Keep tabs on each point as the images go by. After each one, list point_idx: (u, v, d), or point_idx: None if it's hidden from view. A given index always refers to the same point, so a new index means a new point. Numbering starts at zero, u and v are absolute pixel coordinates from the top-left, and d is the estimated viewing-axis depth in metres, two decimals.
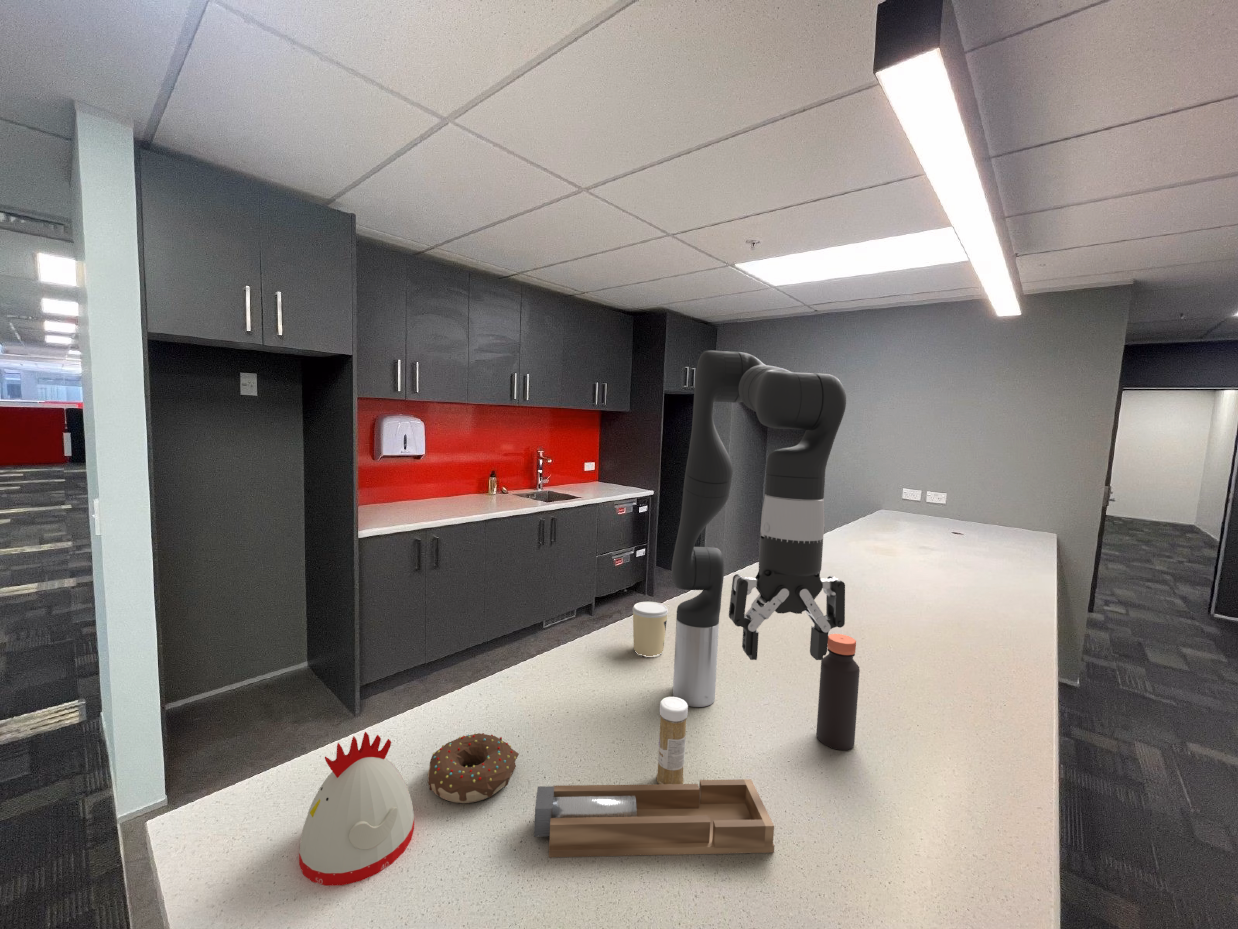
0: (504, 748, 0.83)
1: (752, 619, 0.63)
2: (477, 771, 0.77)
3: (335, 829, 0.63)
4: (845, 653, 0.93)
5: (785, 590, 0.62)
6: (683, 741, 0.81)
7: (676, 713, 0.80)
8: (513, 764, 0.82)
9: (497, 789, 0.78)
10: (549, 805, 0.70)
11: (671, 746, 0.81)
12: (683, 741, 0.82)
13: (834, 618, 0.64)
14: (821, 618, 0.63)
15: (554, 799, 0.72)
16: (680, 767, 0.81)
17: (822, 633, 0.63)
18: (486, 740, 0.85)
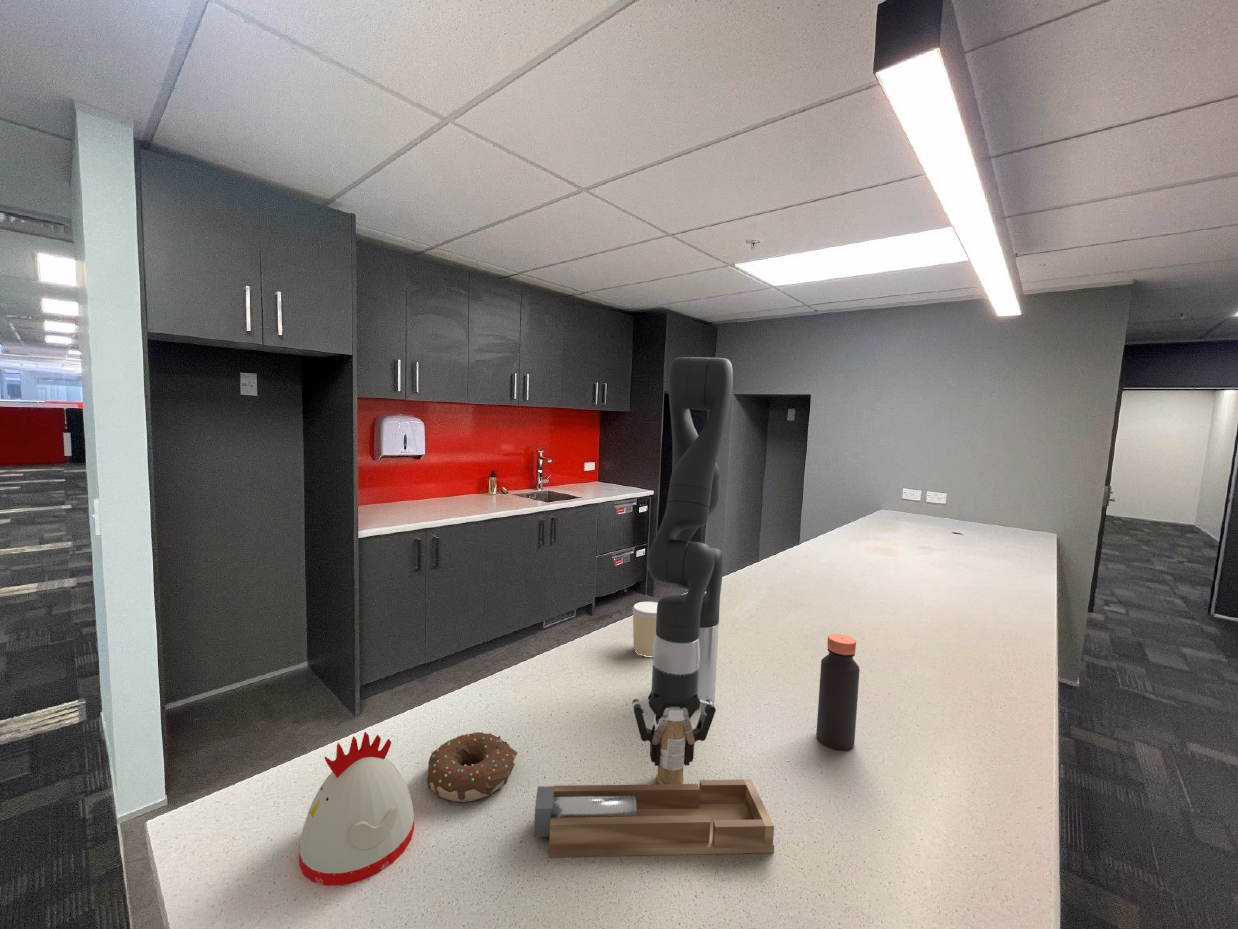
0: (502, 747, 0.84)
1: (653, 736, 0.81)
2: (476, 770, 0.77)
3: (335, 829, 0.63)
4: (845, 653, 0.93)
5: (668, 709, 0.81)
6: (683, 741, 0.81)
7: (676, 713, 0.80)
8: (512, 763, 0.82)
9: (496, 787, 0.78)
10: (549, 805, 0.70)
11: (671, 746, 0.81)
12: (683, 741, 0.82)
13: (699, 732, 0.82)
14: (690, 733, 0.82)
15: (554, 799, 0.72)
16: (680, 767, 0.81)
17: (688, 745, 0.82)
18: (484, 739, 0.86)
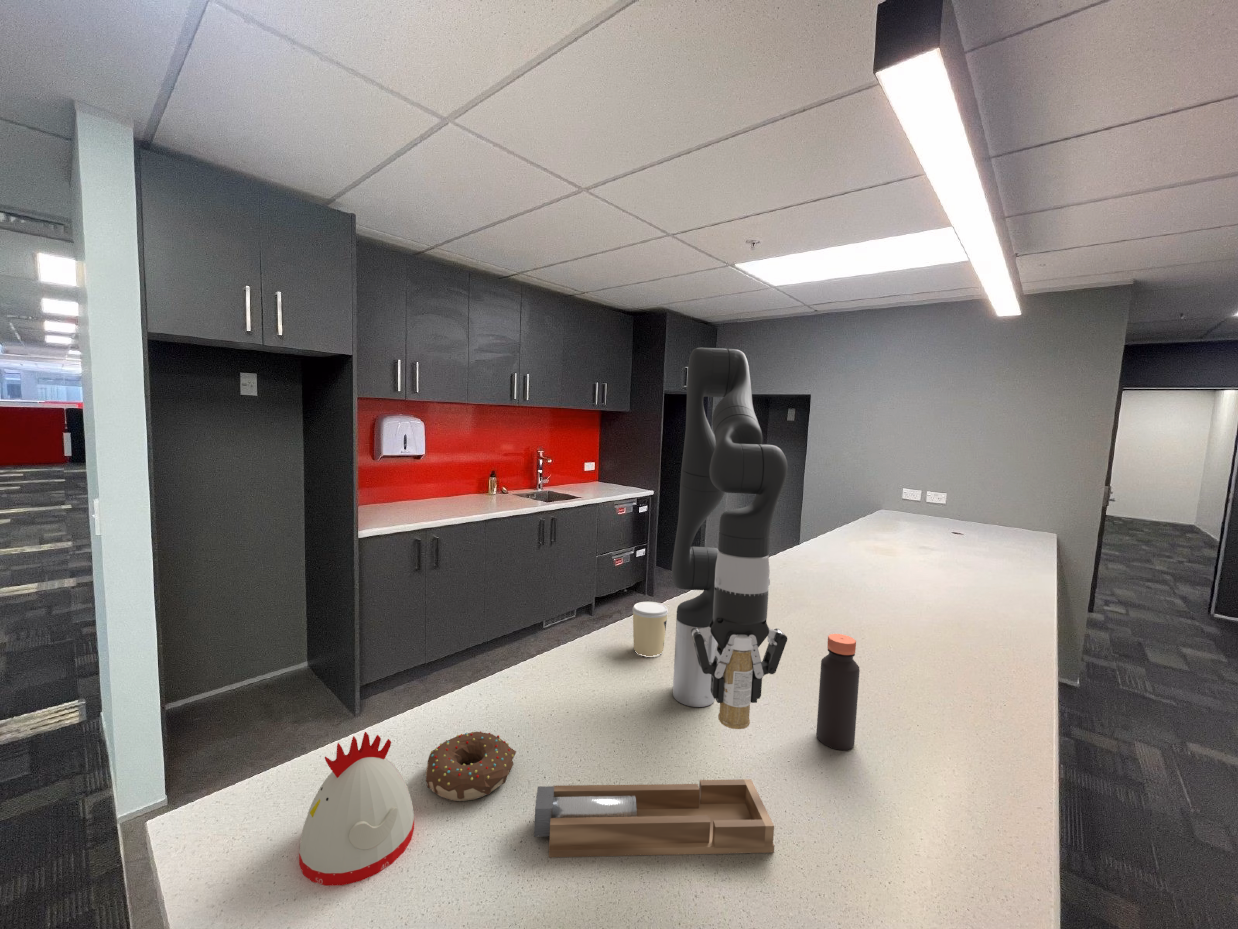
0: (501, 746, 0.84)
1: (716, 668, 0.71)
2: (475, 769, 0.77)
3: (335, 829, 0.63)
4: (845, 653, 0.93)
5: (734, 636, 0.70)
6: (750, 674, 0.71)
7: (744, 641, 0.70)
8: (510, 762, 0.82)
9: (495, 786, 0.78)
10: (549, 805, 0.70)
11: (737, 680, 0.70)
12: (750, 674, 0.71)
13: (768, 664, 0.72)
14: (758, 665, 0.71)
15: (554, 799, 0.72)
16: (747, 704, 0.71)
17: (756, 679, 0.72)
18: (483, 738, 0.86)
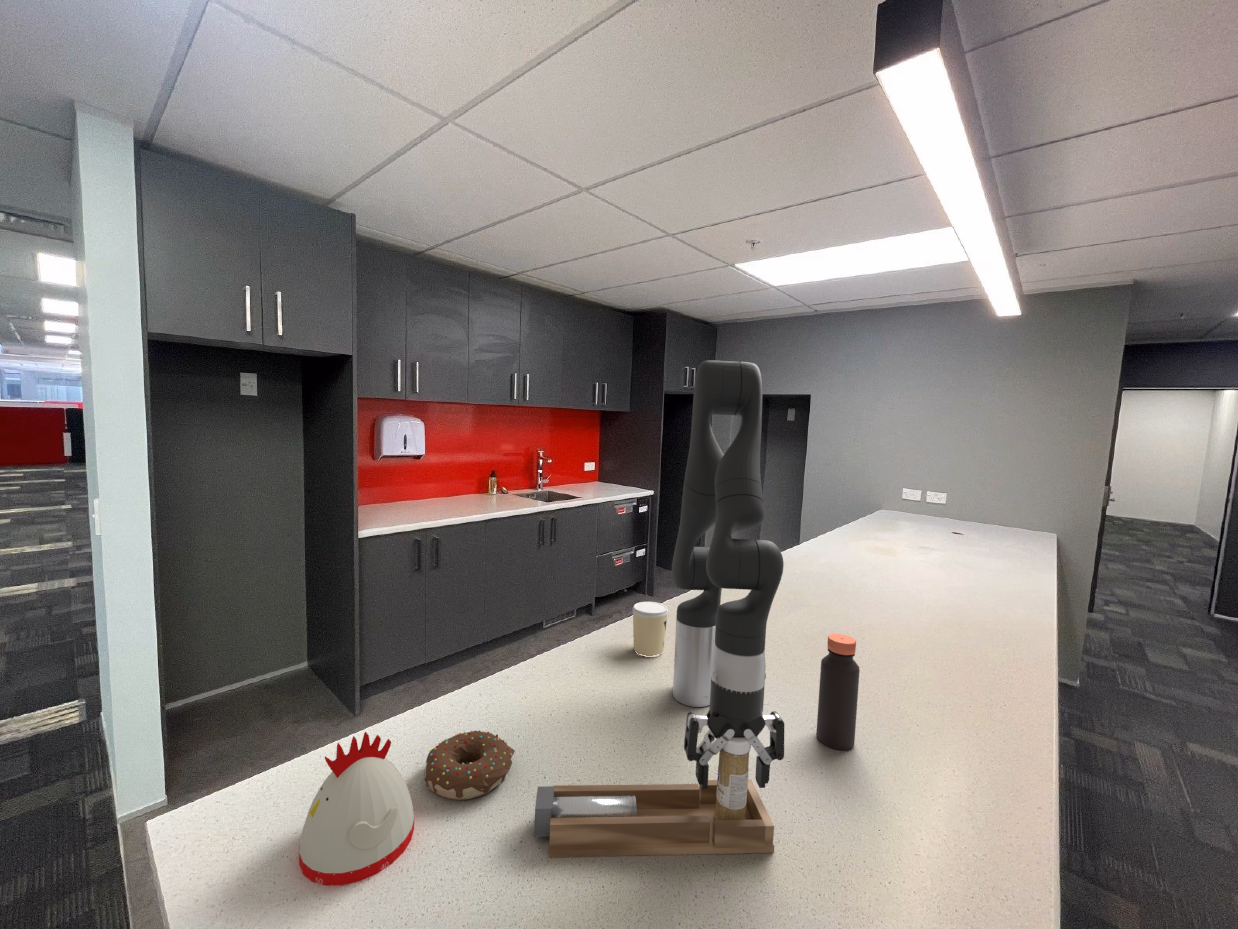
0: (500, 745, 0.84)
1: (702, 755, 0.72)
2: (473, 768, 0.78)
3: (335, 829, 0.63)
4: (845, 653, 0.93)
5: (731, 730, 0.71)
6: (746, 776, 0.72)
7: (740, 746, 0.71)
8: (509, 761, 0.82)
9: (494, 785, 0.79)
10: (549, 805, 0.70)
11: (733, 783, 0.71)
12: (746, 776, 0.72)
13: (775, 751, 0.73)
14: (763, 752, 0.72)
15: (554, 799, 0.72)
16: (743, 806, 0.72)
17: (764, 765, 0.73)
18: (482, 737, 0.86)
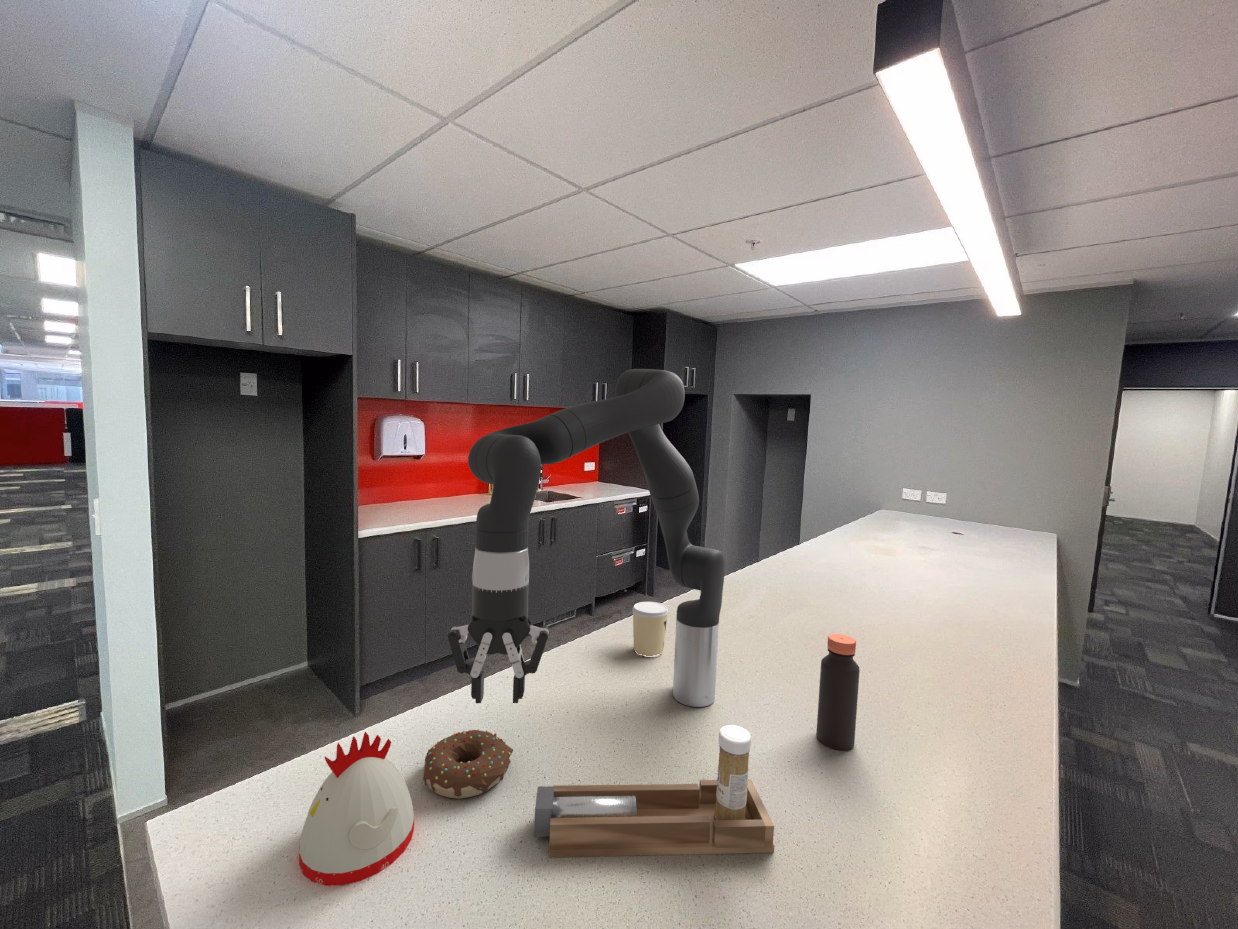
0: (498, 744, 0.84)
1: (472, 667, 0.69)
2: (472, 767, 0.78)
3: (335, 829, 0.63)
4: (845, 653, 0.93)
5: (487, 634, 0.68)
6: (746, 776, 0.72)
7: (740, 745, 0.71)
8: (507, 760, 0.83)
9: (492, 784, 0.79)
10: (549, 805, 0.70)
11: (733, 783, 0.71)
12: (746, 776, 0.72)
13: (529, 663, 0.69)
14: (517, 663, 0.69)
15: (554, 799, 0.72)
16: (743, 806, 0.72)
17: (516, 679, 0.69)
18: (481, 736, 0.86)
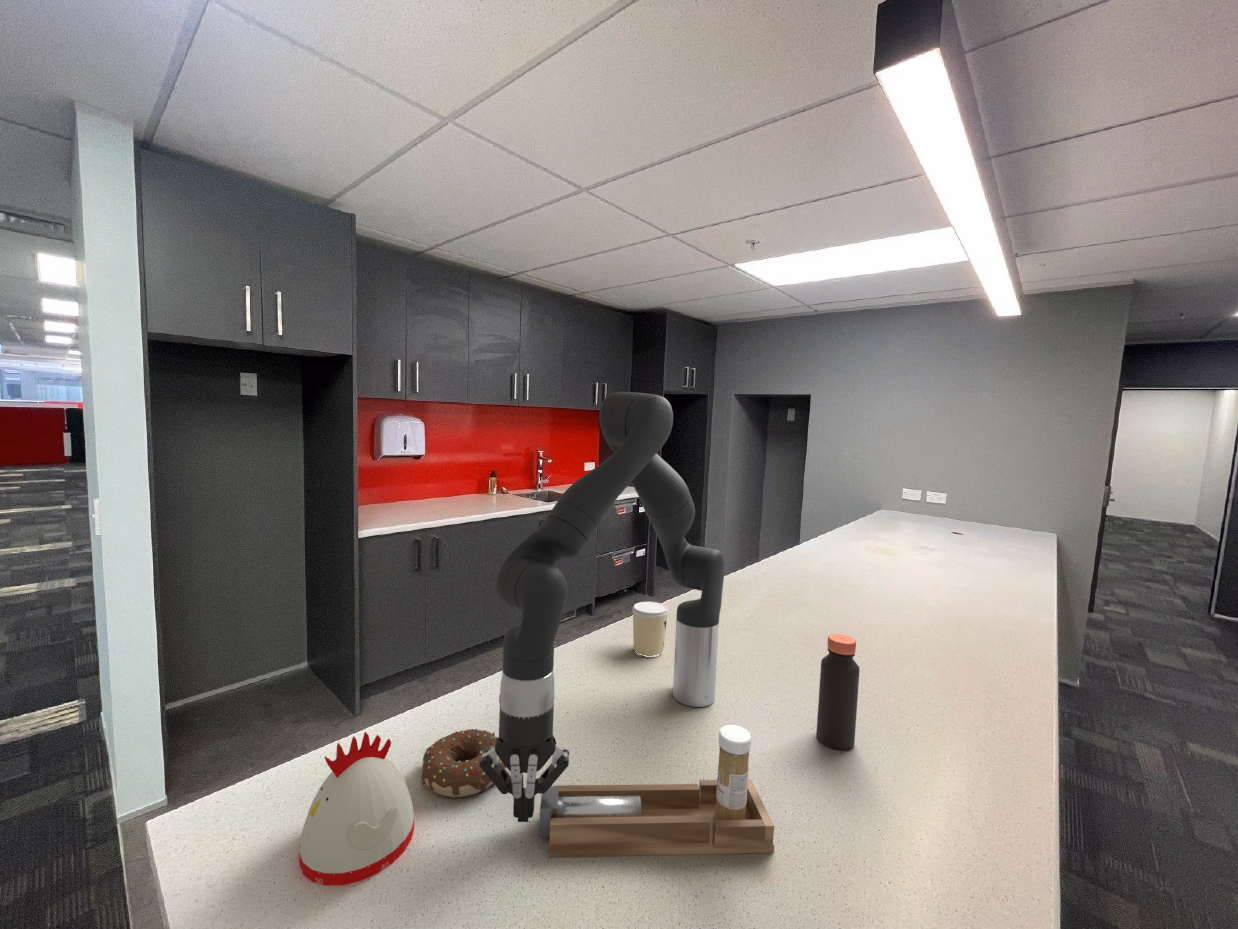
0: None
1: (512, 790, 0.70)
2: (470, 766, 0.78)
3: (335, 829, 0.63)
4: (845, 653, 0.93)
5: (513, 756, 0.69)
6: (746, 776, 0.72)
7: (740, 745, 0.71)
8: None
9: (490, 783, 0.79)
10: (554, 805, 0.70)
11: (733, 783, 0.71)
12: (746, 776, 0.72)
13: (541, 783, 0.71)
14: (531, 784, 0.70)
15: (559, 799, 0.72)
16: (743, 806, 0.72)
17: (526, 799, 0.70)
18: (479, 735, 0.86)
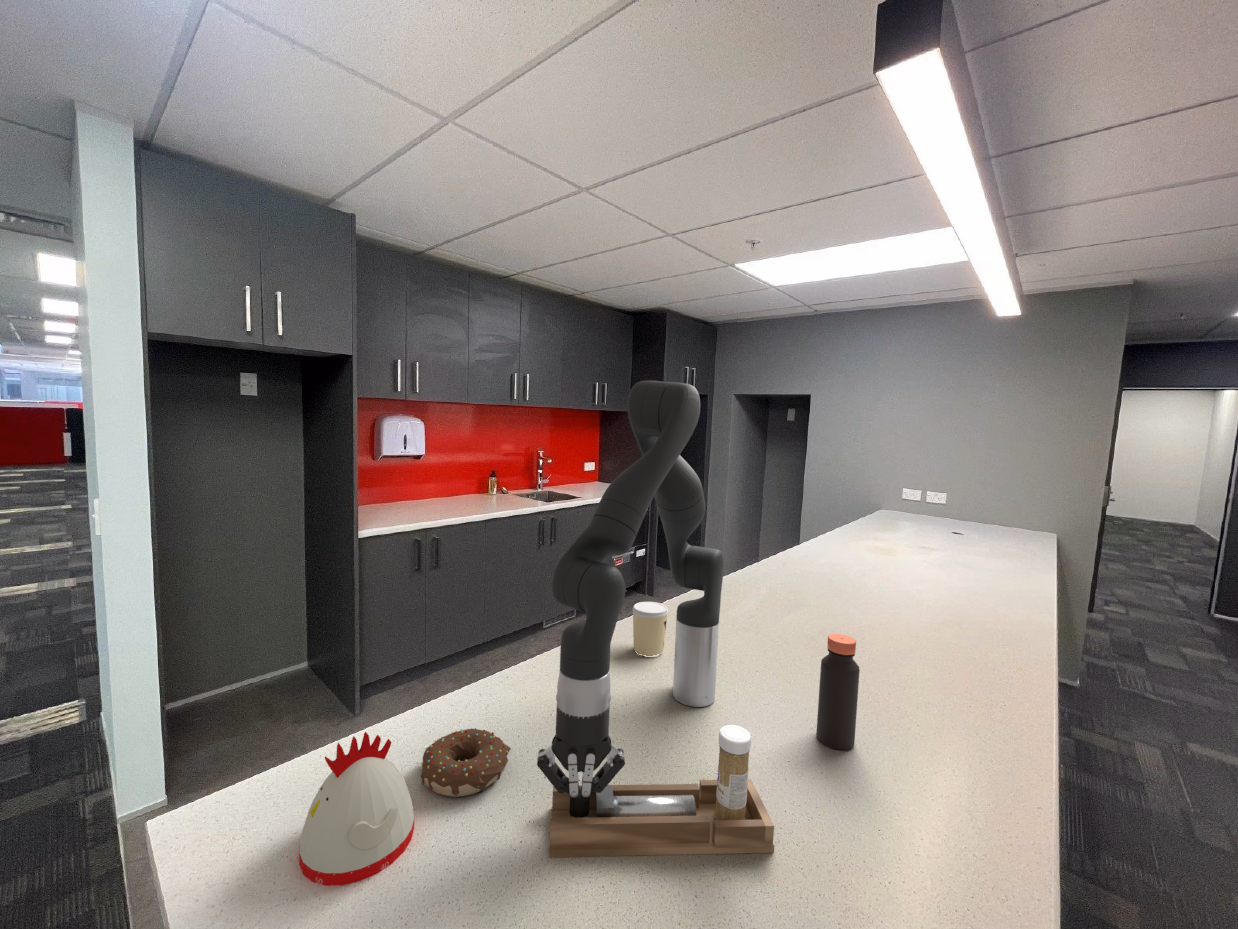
0: (496, 742, 0.85)
1: (569, 789, 0.71)
2: (469, 765, 0.78)
3: (335, 829, 0.63)
4: (845, 653, 0.93)
5: (571, 755, 0.70)
6: (746, 776, 0.72)
7: (740, 745, 0.71)
8: (505, 758, 0.83)
9: (489, 782, 0.79)
10: (610, 804, 0.71)
11: (733, 783, 0.71)
12: (746, 776, 0.72)
13: (597, 782, 0.71)
14: (588, 783, 0.71)
15: (614, 798, 0.72)
16: (743, 806, 0.72)
17: (582, 798, 0.71)
18: (478, 735, 0.87)
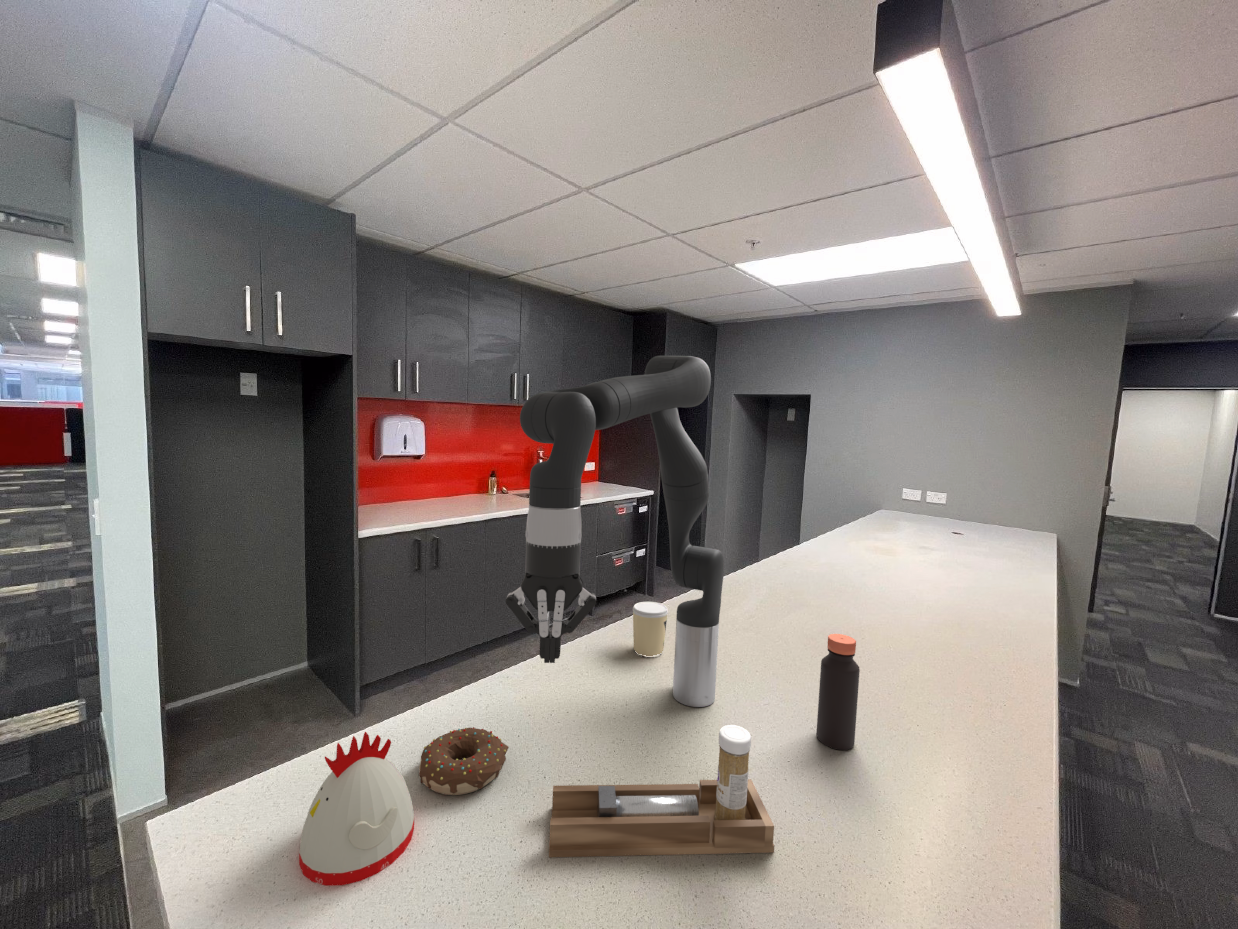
0: (494, 741, 0.85)
1: (539, 628, 0.69)
2: (467, 764, 0.79)
3: (335, 829, 0.63)
4: (845, 653, 0.93)
5: (540, 591, 0.68)
6: (746, 776, 0.72)
7: (740, 745, 0.71)
8: (503, 757, 0.83)
9: (487, 781, 0.79)
10: (613, 804, 0.71)
11: (733, 783, 0.71)
12: (746, 776, 0.72)
13: (568, 622, 0.69)
14: (558, 623, 0.69)
15: (616, 798, 0.72)
16: (743, 806, 0.72)
17: (553, 638, 0.69)
18: (476, 734, 0.87)
